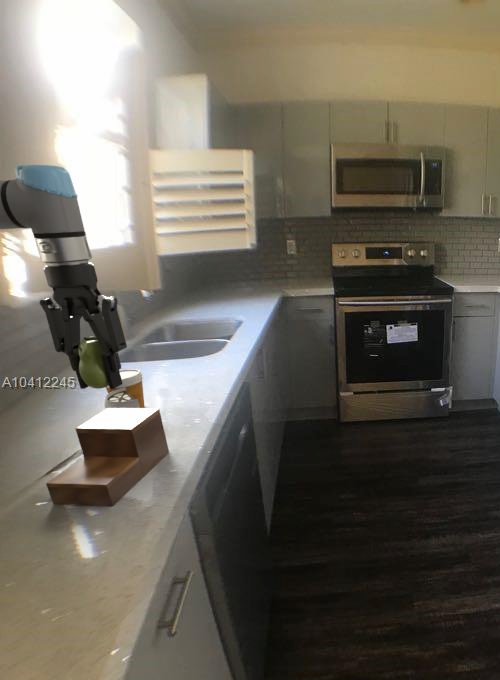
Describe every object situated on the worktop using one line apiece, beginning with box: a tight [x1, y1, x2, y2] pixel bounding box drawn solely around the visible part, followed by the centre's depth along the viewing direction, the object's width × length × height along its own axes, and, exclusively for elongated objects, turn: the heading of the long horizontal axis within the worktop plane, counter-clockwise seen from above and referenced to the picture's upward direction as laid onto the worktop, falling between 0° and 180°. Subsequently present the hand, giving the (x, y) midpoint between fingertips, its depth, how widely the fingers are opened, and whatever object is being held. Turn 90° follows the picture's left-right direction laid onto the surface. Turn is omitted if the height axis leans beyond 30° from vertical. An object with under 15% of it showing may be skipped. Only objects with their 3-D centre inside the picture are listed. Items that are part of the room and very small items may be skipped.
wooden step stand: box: [45, 407, 170, 507], centre depth 93 cm, size 12×20×11 cm, turn 175°
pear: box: [78, 336, 109, 390], centre depth 87 cm, size 6×5×10 cm
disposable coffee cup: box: [105, 368, 146, 408], centre depth 121 cm, size 10×10×12 cm
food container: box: [104, 387, 140, 410], centre depth 112 cm, size 12×6×10 cm, turn 42°
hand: (101, 386), depth 88 cm, fingers closed on pear, 5 cm apart
